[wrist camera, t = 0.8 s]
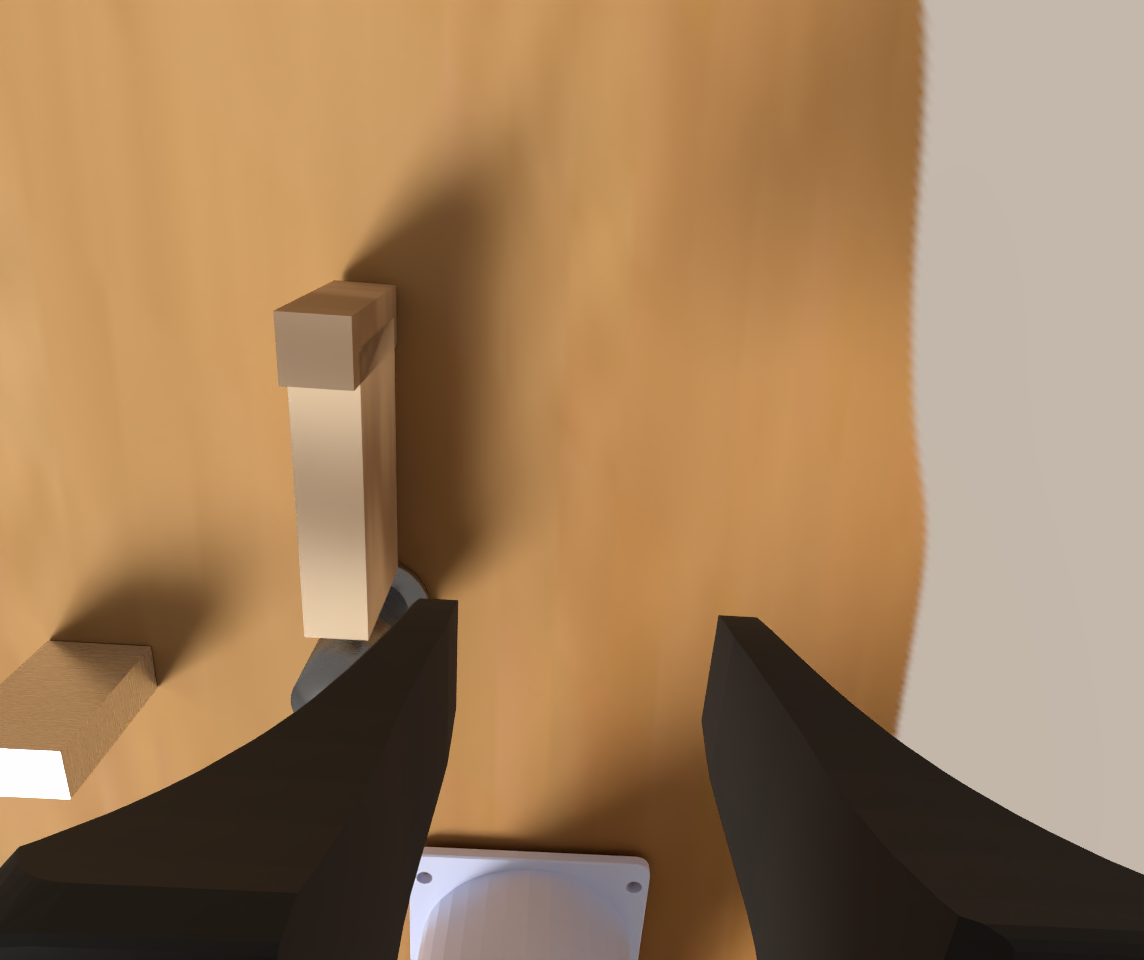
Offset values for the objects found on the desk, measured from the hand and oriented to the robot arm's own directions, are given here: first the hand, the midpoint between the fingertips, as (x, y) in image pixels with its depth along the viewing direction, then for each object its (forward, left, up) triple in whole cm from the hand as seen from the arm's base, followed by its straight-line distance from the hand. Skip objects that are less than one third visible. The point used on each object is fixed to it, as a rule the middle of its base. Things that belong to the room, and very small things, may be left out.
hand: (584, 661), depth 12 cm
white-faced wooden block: (-8, +14, -9) cm, 18 cm away
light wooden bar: (0, +5, -9) cm, 11 cm away
